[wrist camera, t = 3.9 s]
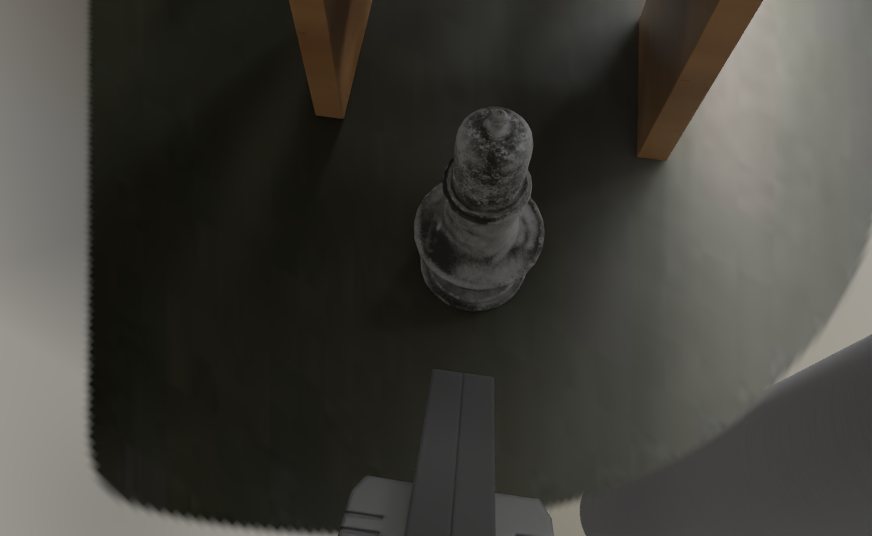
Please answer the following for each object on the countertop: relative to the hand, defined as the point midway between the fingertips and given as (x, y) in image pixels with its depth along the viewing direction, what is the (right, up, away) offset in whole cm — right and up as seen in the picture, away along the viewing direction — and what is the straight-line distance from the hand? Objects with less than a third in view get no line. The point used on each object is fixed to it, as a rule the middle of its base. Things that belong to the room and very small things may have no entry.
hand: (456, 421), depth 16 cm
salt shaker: (+1, +4, +17) cm, 17 cm away
